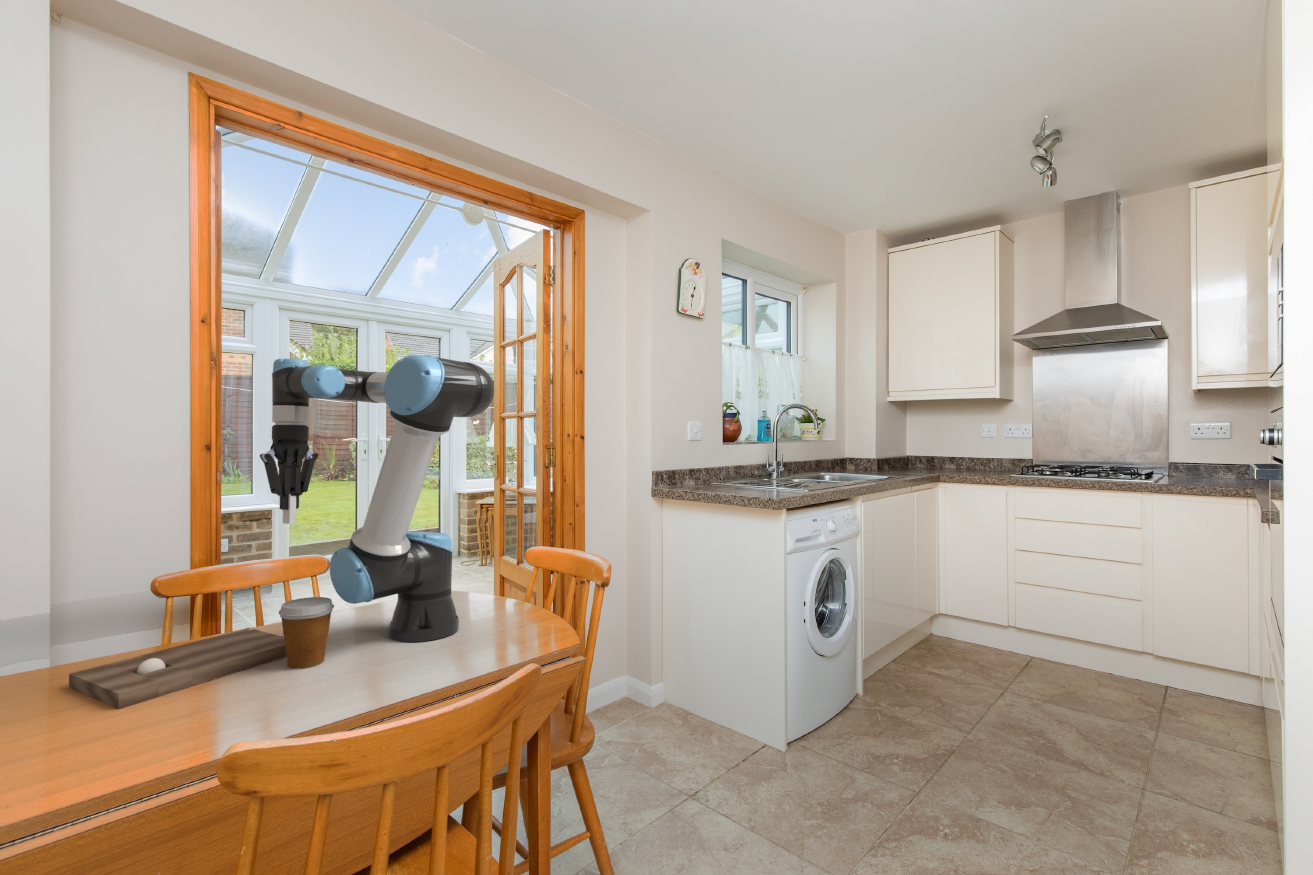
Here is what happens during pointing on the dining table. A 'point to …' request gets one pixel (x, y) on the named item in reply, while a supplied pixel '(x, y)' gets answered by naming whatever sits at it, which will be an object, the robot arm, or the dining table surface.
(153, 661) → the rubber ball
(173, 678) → the hole board
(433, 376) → the robot arm
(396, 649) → the dining table surface
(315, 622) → the disposable coffee cup
